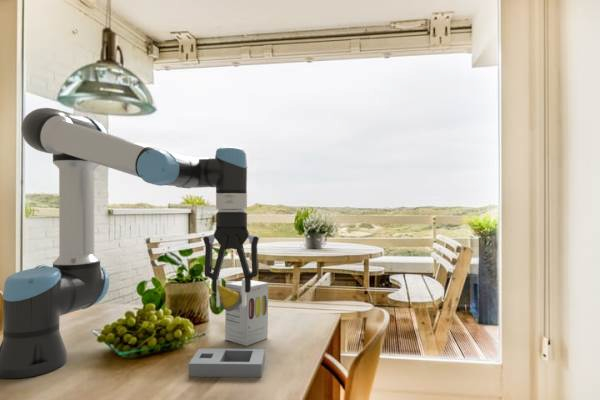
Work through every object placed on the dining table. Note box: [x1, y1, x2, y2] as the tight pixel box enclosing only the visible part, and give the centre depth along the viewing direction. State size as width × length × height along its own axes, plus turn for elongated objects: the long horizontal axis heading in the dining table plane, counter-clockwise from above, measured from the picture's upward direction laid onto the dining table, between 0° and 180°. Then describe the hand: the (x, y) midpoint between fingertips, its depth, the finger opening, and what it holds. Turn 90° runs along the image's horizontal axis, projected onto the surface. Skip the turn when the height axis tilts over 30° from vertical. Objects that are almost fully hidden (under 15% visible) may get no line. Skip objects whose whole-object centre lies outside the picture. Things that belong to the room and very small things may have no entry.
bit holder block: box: [188, 348, 266, 378], centre depth 101 cm, size 17×10×3 cm, turn 90°
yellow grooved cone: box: [217, 285, 242, 312], centre depth 101 cm, size 5×5×10 cm
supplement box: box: [224, 279, 269, 347], centre depth 123 cm, size 10×9×17 cm
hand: (231, 305), depth 101 cm, fingers closed on yellow grooved cone, 5 cm apart
